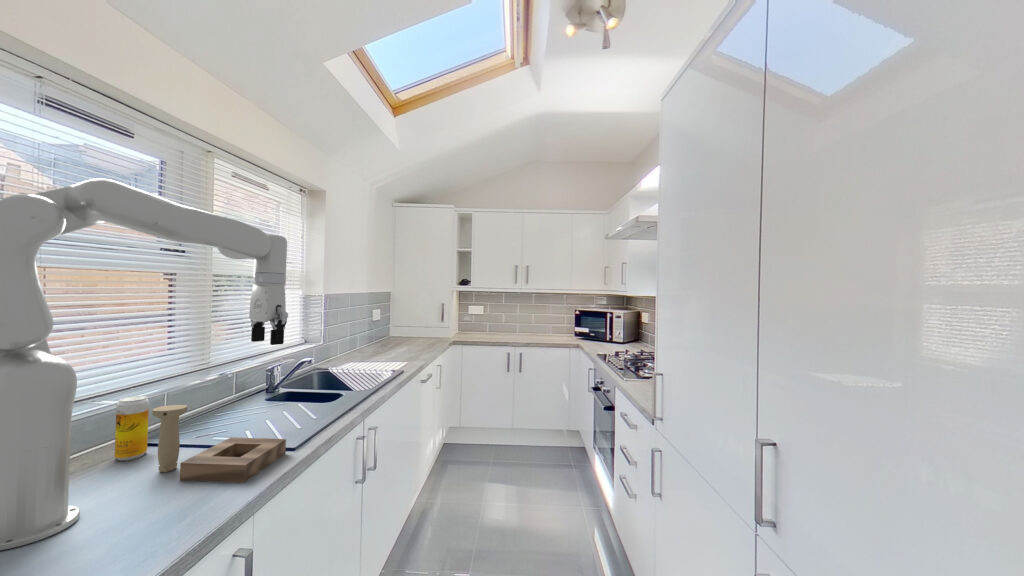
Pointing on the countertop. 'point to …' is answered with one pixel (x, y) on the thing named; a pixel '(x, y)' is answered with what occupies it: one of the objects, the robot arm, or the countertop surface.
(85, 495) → the countertop surface
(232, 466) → the keyed socket block
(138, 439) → the beer can
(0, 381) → the robot arm
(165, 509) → the countertop surface
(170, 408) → the tan flared peg
